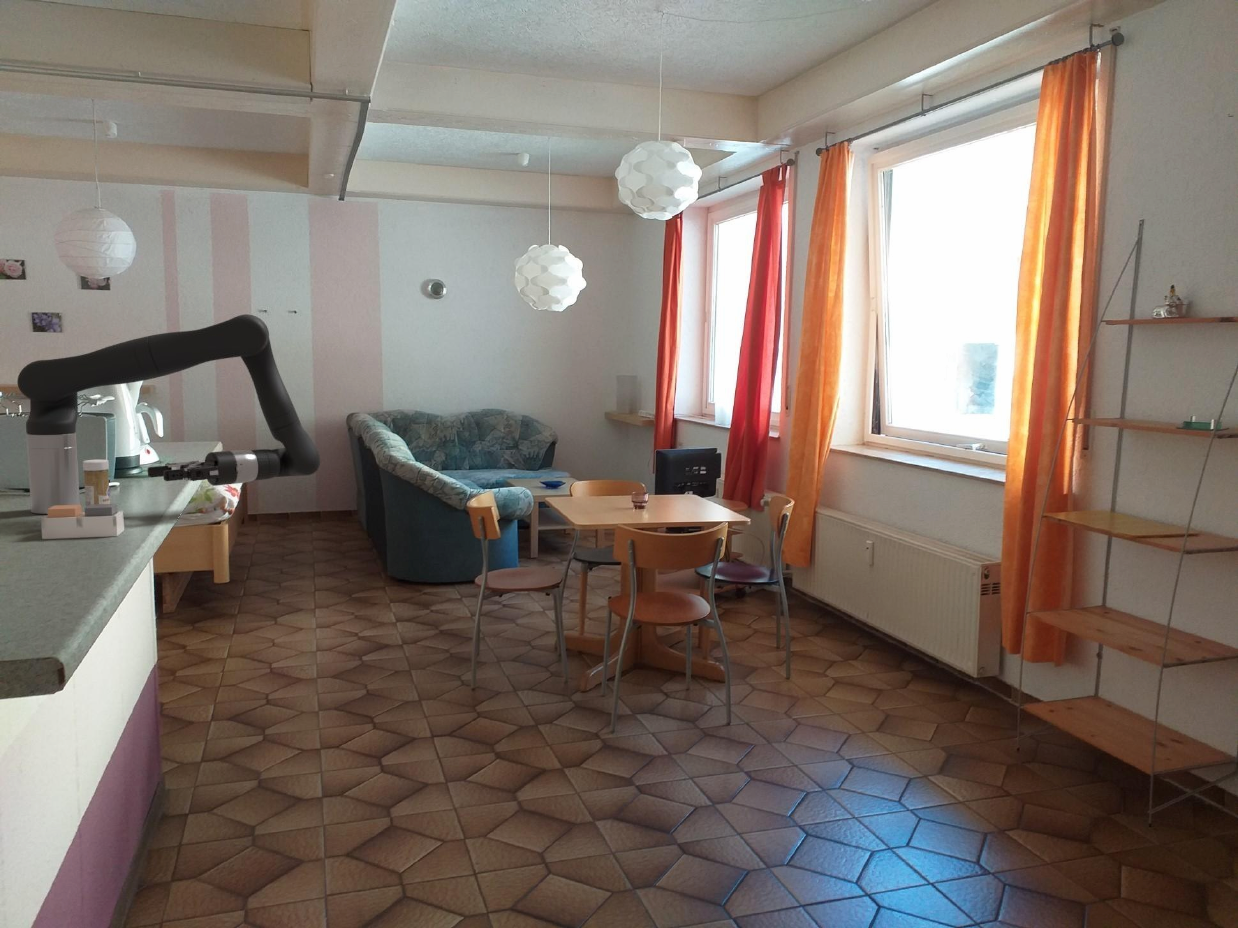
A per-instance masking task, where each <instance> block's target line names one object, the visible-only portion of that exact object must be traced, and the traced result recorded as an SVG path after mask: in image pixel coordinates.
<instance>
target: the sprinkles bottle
mask: <svg viewBox="0 0 1238 928" xmlns="http://www.w3.org/2000/svg"><path fill="white" fill-rule="evenodd" d="M109 469H110V462H109V460H108V459H101V458H100V459H99V458H98V459H89V460H88V459H86V460H84V461H82V470H83V475H84V498H85V508H86V507H87V506H89V505H91V504H111V495H110V494H111V492H110V481H109Z"/></svg>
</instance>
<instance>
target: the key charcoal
mask: <svg viewBox="0 0 1238 928" xmlns="http://www.w3.org/2000/svg"><path fill="white" fill-rule="evenodd" d="M117 511H118V504H117V503H110V504H91V505H89V506H87V507H86V506H85V507H84V512H85V517H92V516H114V515H115V514H116V513H117Z"/></svg>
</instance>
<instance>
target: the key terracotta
mask: <svg viewBox="0 0 1238 928" xmlns="http://www.w3.org/2000/svg"><path fill="white" fill-rule="evenodd" d="M82 510H83V509H82V504H80V505H54V506H53V507H51V508H49V509H48V514H47V515H48V518H61V517H78V516H79V515H81V514H82V512H83V511H82Z"/></svg>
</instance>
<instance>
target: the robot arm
mask: <svg viewBox="0 0 1238 928" xmlns="http://www.w3.org/2000/svg"><path fill="white" fill-rule="evenodd" d="M273 353H274V352H273V350H272V343H271V338H270V332H269V329H268V326H267V324H266V323H265V321H263V320H262V319H261V318H260V317H259V316H256V315H253V314H240V315H237V316H234V317H232V318H230V319H228V320H224V321H222V322H218V323H215V324H213V325H209V326H206V327H203V328H200V329H194V330H186V331H185V330H184V331H172V332H171V331H170V332H163V333H157V334H152V335H147V336H143V337H139V338H138V337H137V338H134V339H130V340H127V341H124V342H119V343H115V344H112V345H108V346H106V347H103V348H100V349H96V350H94V351H91V352H88V353H84V354H79V355H74V356H68V357H60V358H52V359H39V360H35V361H32V362H30V363H28V364H26V365H25V366H24V367H23V368H22V369H21V370H20V372H19V374H18V376H17V387H18V389H19V391H20V392H21V394H23V396H25V397H26V398H27V399H29V401H30V403H29V404H30V405H29V406H30V407H29V408H30V411H29V416H28V418H27V420H26V422H25V429H26V430H25V431H26V447H27V462H28V465H27V466H28V481H29V484H28V485H29V499H30V512H31V513H33V514H40V515H41V514H44V515H45V514H47V515H48V509H49V508H51V507H53V506H54V505H81V504H80V487H79V486H80V484H79V482H80V481H79V465H78V448H77V447H78V446H77V433H76V432H77V429H76V428H77V427H76V426H77V421H78V416H79V415H78V414H79V413H78V412H79V411H78V410H79V409H78V405H79V403H78V400H79V399H78V393H79V392H81V391H85V390H89V389H93V388H98V387H103V386H105V387H106V386H113V385H114V386H115V385H116V386H117V385H124V384H130V383H136V382H137V383H138V382H143V381H148V380H152V379H157V378H160V377H165V376H169V375H171V374H175V373H179V372H182V371H184V370H187V369H191V368H194V367H195V366H199V365H201V364H205V363H208V362H213V361H218V360H224V359H231V358H232V359H233V358H241V360H242V361H243V364H244V365H245V366H246V369H247V370H248V373H249V376H250V378H251V381H252V382H253V385H254V390H255V393H256V396H257V401H258V402H259V406H260V409H261V411H262V414H263V417H264V419H265V421H266V424H267V426H268V428H269V431H270V434H271V435H272V437H273V439H274V440H275V441H278V442H279V443H281V444H282V446H283V447H282V448H281V447H280V448H275V449H267V448H262V449H249V450H246V449H236V450H224V451H222V450H221V451H211V452H208V453H207V454H206V456H205V457H204V458H205V459H204V461H200V460H191V461H179V462H174V463H173V462H172V463H168V462H167V463H164V465H158V466H149V467H147V476H148V477H149V478H159V477H160V478H161V477H163V480H164V481H165V482H171V481H183V480H184V481H192V482H195V481H204V480H206V481H207V482H208V483H209V484H210V485H211V486H213V487H215V486H225V485H235V484H237V485H238V484H243V483H248V482H252V481H253V482H254V481H265V480H269V479H273V478H282V477H299V476H305V477H306V476H310V475H313V474H315V473H316V472H317V471H319V468H320V464H321V457H320V454H319V453H320V452H319V450H318V448H317V446H316V445H315V443H314V441H313V440H312V438H311V437H310V436H309V434H308V432H307V431H306V430H305V429H304V427H303V425H302V424H301V421H300V418H299V415H298V413H297V411H296V408H295V406H294V404H293V401H292V398H291V397H290V395H289V392H288V391H287V388H286V386H285V384H284V381H283V379H282V376H281V374H280V372H279V370H278V369H279V368H278V366H277V364H276V363H277V362H276V359H275V357H274V354H273ZM172 468H176V469H172Z"/></svg>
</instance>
